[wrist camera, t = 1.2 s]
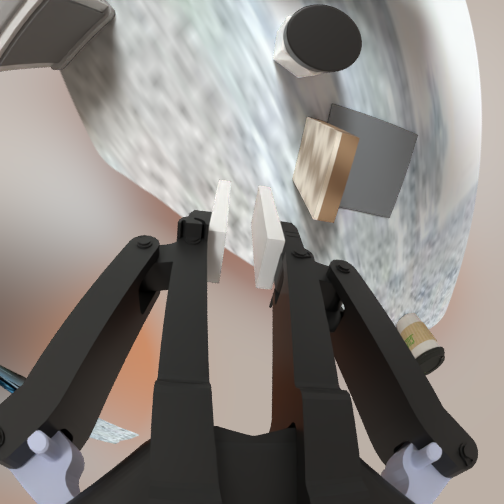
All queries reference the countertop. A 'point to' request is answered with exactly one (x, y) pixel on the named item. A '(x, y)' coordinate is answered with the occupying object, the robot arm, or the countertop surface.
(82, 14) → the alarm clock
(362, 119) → the mat
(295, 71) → the jar
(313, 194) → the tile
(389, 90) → the countertop surface
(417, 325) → the coffee cup
